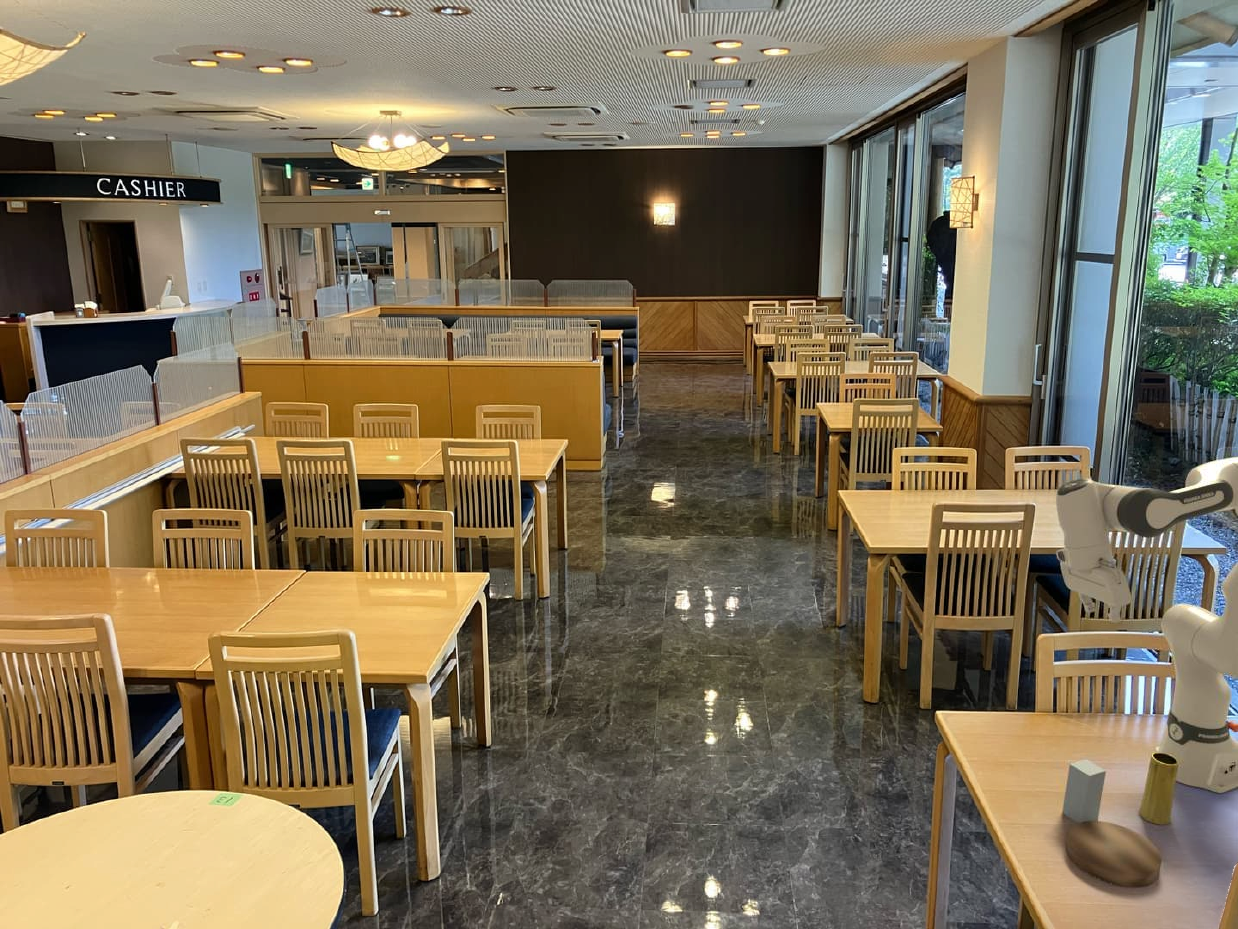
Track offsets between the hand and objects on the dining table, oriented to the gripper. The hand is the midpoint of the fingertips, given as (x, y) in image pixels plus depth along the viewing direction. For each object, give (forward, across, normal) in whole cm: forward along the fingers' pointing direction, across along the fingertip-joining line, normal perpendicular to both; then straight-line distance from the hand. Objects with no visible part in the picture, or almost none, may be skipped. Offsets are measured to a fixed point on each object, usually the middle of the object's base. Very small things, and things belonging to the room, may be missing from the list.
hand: (1102, 616), depth 210 cm
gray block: (+41, -1, +15) cm, 44 cm away
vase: (+46, -2, -1) cm, 46 cm away
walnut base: (+44, -15, +17) cm, 49 cm away
